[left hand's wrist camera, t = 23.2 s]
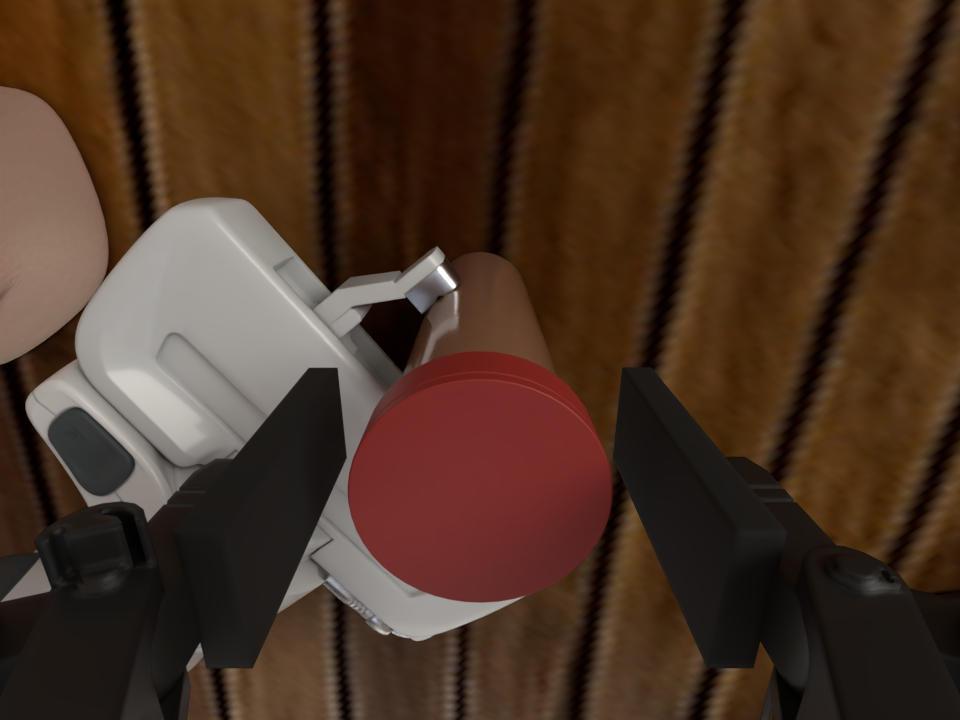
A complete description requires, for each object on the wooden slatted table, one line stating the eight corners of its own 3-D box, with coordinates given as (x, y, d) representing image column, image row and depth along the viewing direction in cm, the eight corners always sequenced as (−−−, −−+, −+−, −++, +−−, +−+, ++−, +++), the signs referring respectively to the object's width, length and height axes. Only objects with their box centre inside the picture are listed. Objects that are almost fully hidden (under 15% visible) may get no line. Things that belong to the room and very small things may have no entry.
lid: (520, 583, 13) (526, 636, 12) (326, 497, 12) (305, 543, 11) (643, 419, 12) (666, 456, 10) (429, 305, 11) (421, 328, 9)
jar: (532, 257, 25) (606, 393, 11) (519, 347, 27) (567, 574, 12) (437, 246, 25) (376, 370, 10) (430, 337, 27) (368, 556, 12)
